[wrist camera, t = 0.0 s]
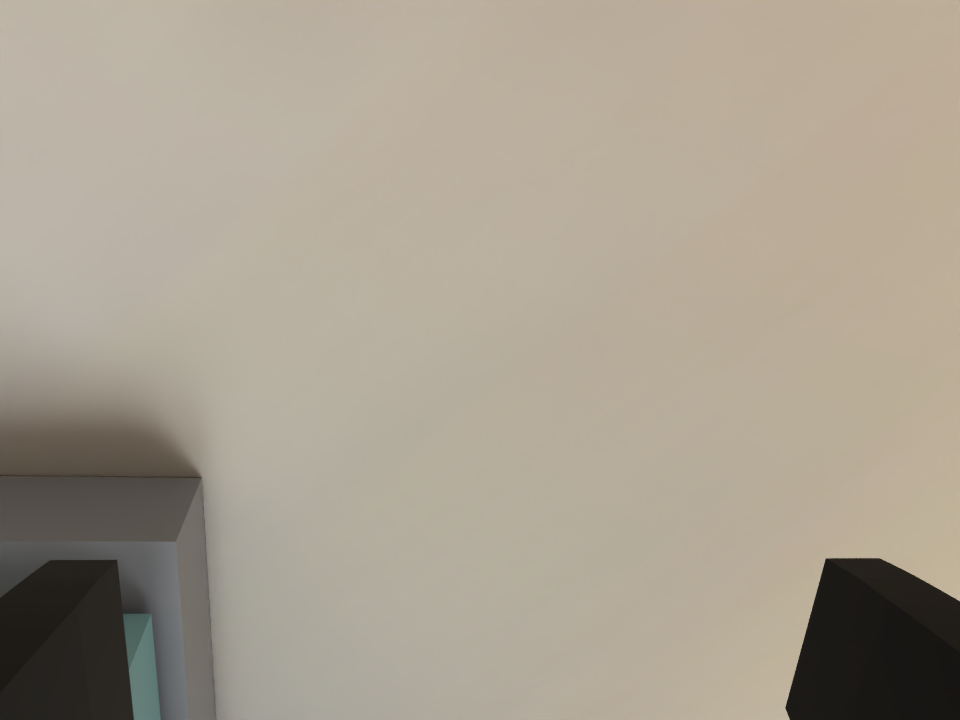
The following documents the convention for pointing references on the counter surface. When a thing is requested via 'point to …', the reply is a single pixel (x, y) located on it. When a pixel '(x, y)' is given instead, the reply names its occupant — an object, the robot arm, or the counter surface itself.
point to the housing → (126, 562)
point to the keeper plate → (142, 666)
